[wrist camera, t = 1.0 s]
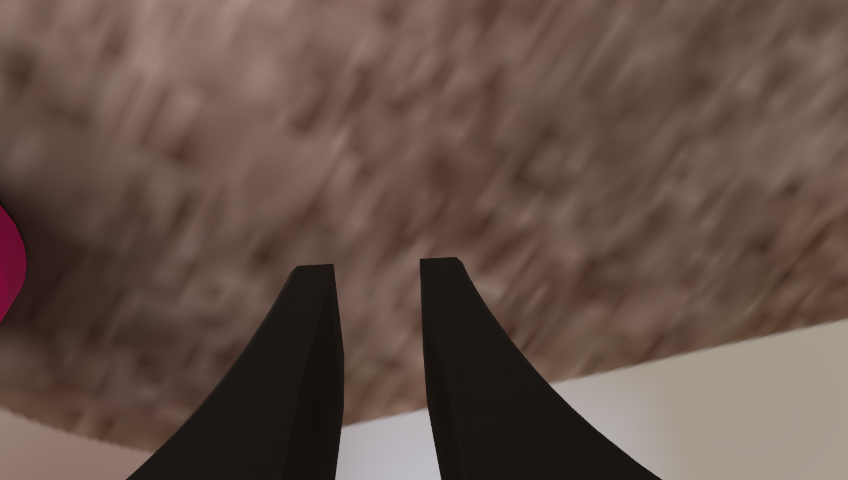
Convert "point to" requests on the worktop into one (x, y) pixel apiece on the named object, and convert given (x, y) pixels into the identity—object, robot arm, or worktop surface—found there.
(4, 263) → the pepper mill
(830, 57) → the worktop surface
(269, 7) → the worktop surface
